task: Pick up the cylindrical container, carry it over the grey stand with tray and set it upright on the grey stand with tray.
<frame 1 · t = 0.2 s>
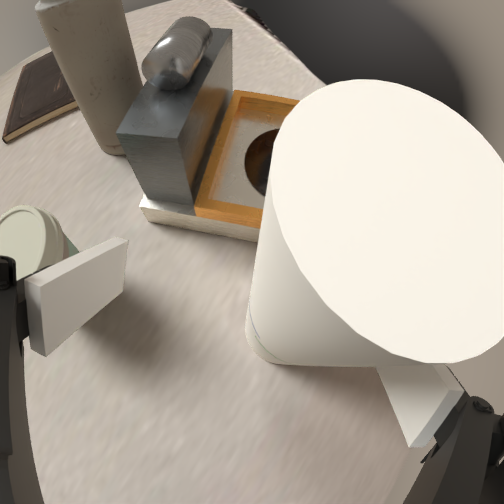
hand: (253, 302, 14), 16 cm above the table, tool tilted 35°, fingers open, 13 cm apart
cylindrical container: (282, 327, 29), on the table
coffee cup: (77, 287, 30), on the table
grey stand with tray: (263, 169, 35), on the table
thermos bottle: (126, 132, 37), on the table
hardcover book: (50, 87, 42), on the table
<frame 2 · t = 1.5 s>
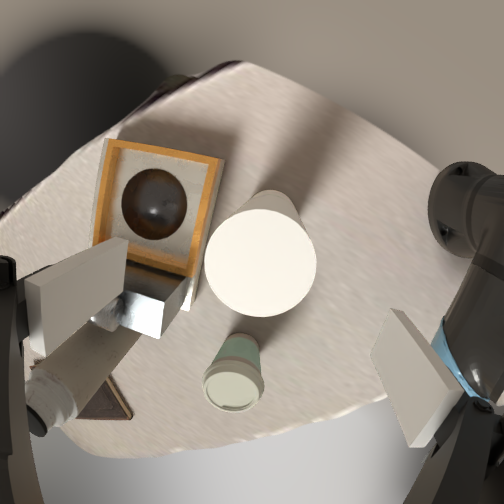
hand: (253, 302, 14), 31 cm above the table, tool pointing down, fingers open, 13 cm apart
cylindrical container: (270, 214, 44), on the table
coffee cup: (241, 347, 50), on the table
grey stand with tray: (152, 219, 46), on the table
thermos bottle: (123, 321, 51), on the table
hardcover book: (80, 388, 57), on the table
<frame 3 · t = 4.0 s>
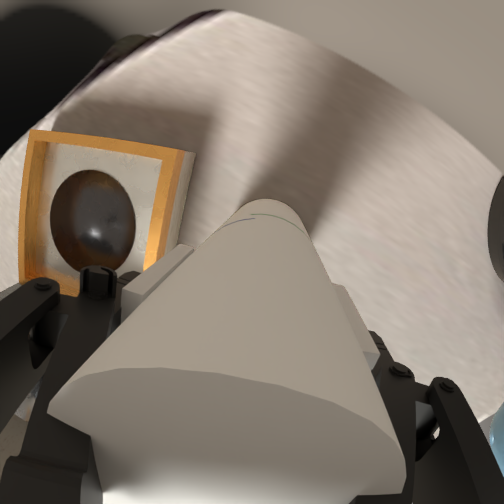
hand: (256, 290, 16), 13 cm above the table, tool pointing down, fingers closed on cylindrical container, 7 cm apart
cylindrical container: (265, 237, 29), on the table, touching gripper
grey stand with tray: (96, 243, 30), on the table
thermos bottle: (76, 370, 35), on the table
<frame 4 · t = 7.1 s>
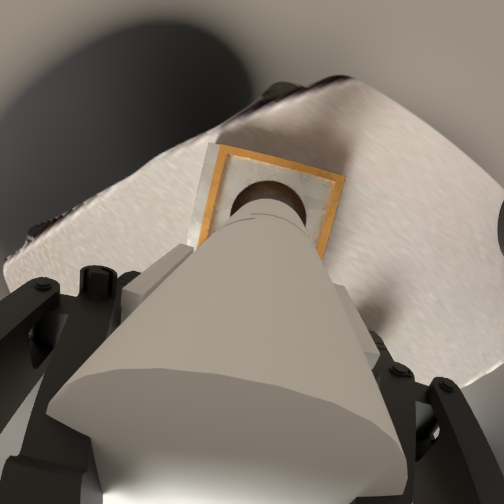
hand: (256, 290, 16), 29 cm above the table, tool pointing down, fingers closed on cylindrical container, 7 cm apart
cylindrical container: (266, 237, 29), point 16 cm above the table, touching gripper
grey stand with tray: (257, 233, 45), on the table
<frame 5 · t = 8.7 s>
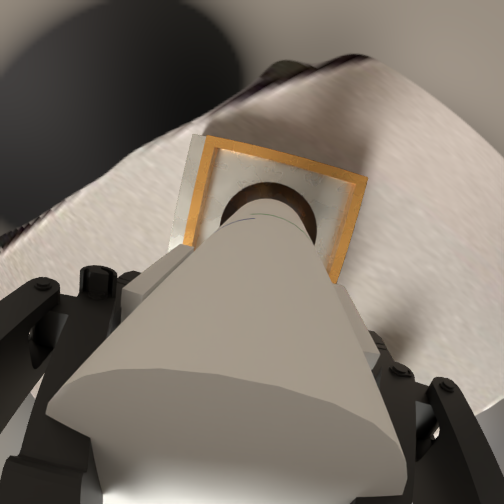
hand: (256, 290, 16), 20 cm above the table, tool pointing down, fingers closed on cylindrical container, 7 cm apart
cylindrical container: (266, 237, 29), point 7 cm above the table, touching gripper
grey stand with tray: (254, 248, 36), on the table
when the fingers open (18 cm above the table, at t = 10.0 s): cylindrical container drops 1 cm, resting on grey stand with tray.
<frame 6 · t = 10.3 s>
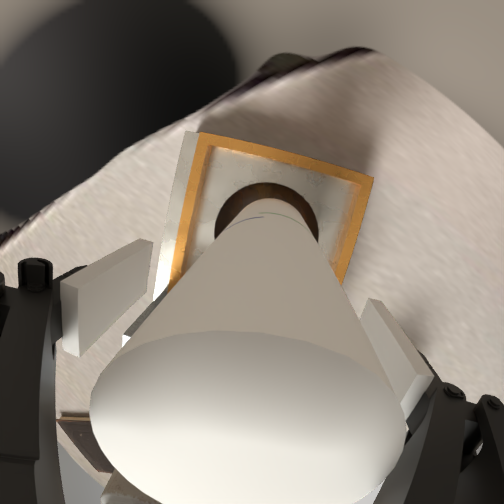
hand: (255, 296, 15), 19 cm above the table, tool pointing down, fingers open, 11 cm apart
cylindrical container: (269, 235, 30), point 4 cm above the table, touching grey stand with tray
grey stand with tray: (251, 252, 34), on the table
thermos bottle: (196, 378, 39), on the table
hardcover book: (124, 443, 46), on the table
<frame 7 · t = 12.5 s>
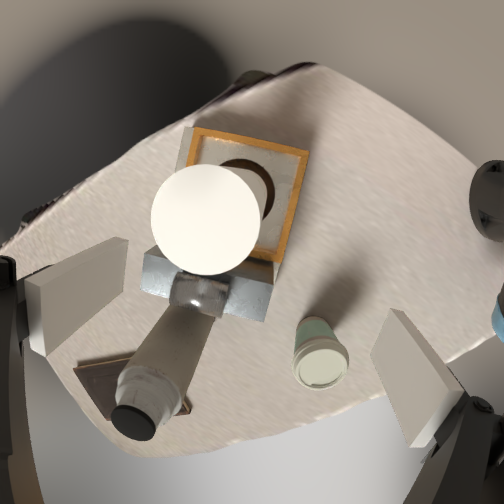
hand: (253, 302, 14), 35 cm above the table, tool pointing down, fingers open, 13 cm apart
cylindrical container: (241, 193, 44), point 4 cm above the table, touching grey stand with tray
coffee cup: (312, 330, 53), on the table
grey stand with tray: (231, 209, 48), on the table
thermos bottle: (192, 313, 53), on the table
hardcover book: (131, 386, 60), on the table
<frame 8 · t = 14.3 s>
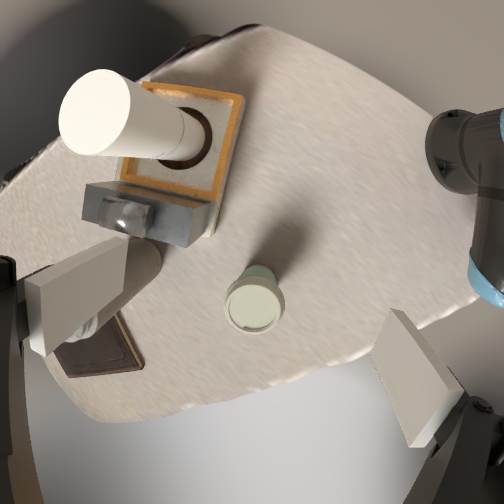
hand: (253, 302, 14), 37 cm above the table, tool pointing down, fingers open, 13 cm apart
cylindrical container: (182, 138, 45), point 4 cm above the table, touching grey stand with tray
coffee cup: (258, 280, 53), on the table
grey stand with tray: (177, 156, 49), on the table
thermos bottle: (142, 259, 54), on the table
hardcover book: (90, 340, 60), on the table
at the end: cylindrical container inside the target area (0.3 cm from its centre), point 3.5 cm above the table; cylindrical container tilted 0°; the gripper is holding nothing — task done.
